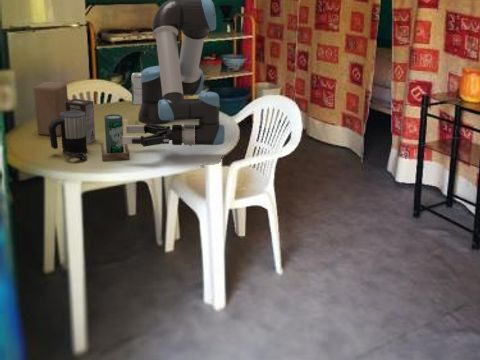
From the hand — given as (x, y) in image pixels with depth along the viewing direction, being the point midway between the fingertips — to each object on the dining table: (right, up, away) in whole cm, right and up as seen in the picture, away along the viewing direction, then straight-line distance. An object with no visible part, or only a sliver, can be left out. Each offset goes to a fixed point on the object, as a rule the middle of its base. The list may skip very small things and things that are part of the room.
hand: (124, 134), depth 225 cm
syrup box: (-7, +21, +75) cm, 79 cm away
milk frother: (-19, -7, +3) cm, 20 cm away
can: (-4, -8, +3) cm, 9 cm away
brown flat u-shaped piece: (-4, -7, +5) cm, 9 cm away
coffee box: (-20, -1, +19) cm, 28 cm away
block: (-34, +3, +28) cm, 44 cm away
